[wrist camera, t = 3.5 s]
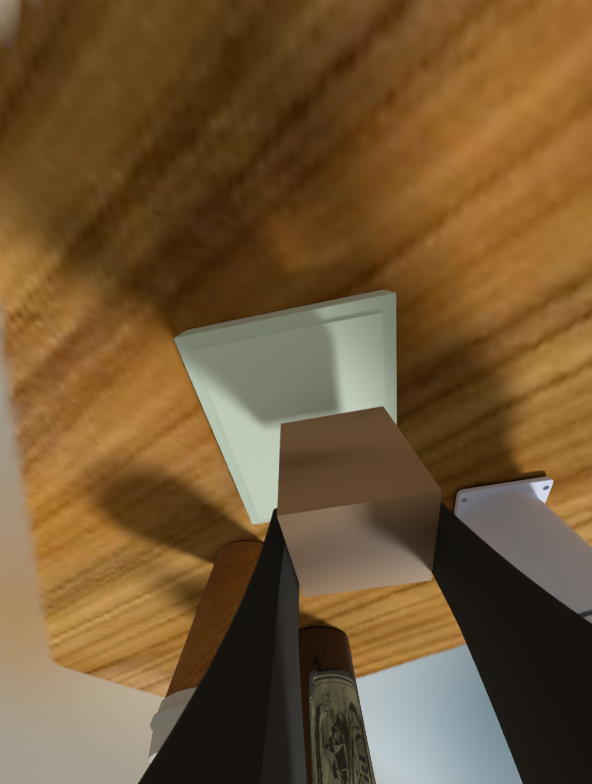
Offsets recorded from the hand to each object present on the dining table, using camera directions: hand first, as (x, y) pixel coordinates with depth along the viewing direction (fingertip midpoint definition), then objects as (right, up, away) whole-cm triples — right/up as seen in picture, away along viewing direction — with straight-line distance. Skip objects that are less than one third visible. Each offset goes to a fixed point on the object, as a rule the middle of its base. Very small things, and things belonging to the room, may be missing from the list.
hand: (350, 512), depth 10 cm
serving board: (-2, +3, +8) cm, 9 cm away
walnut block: (0, +2, +2) cm, 3 cm away
